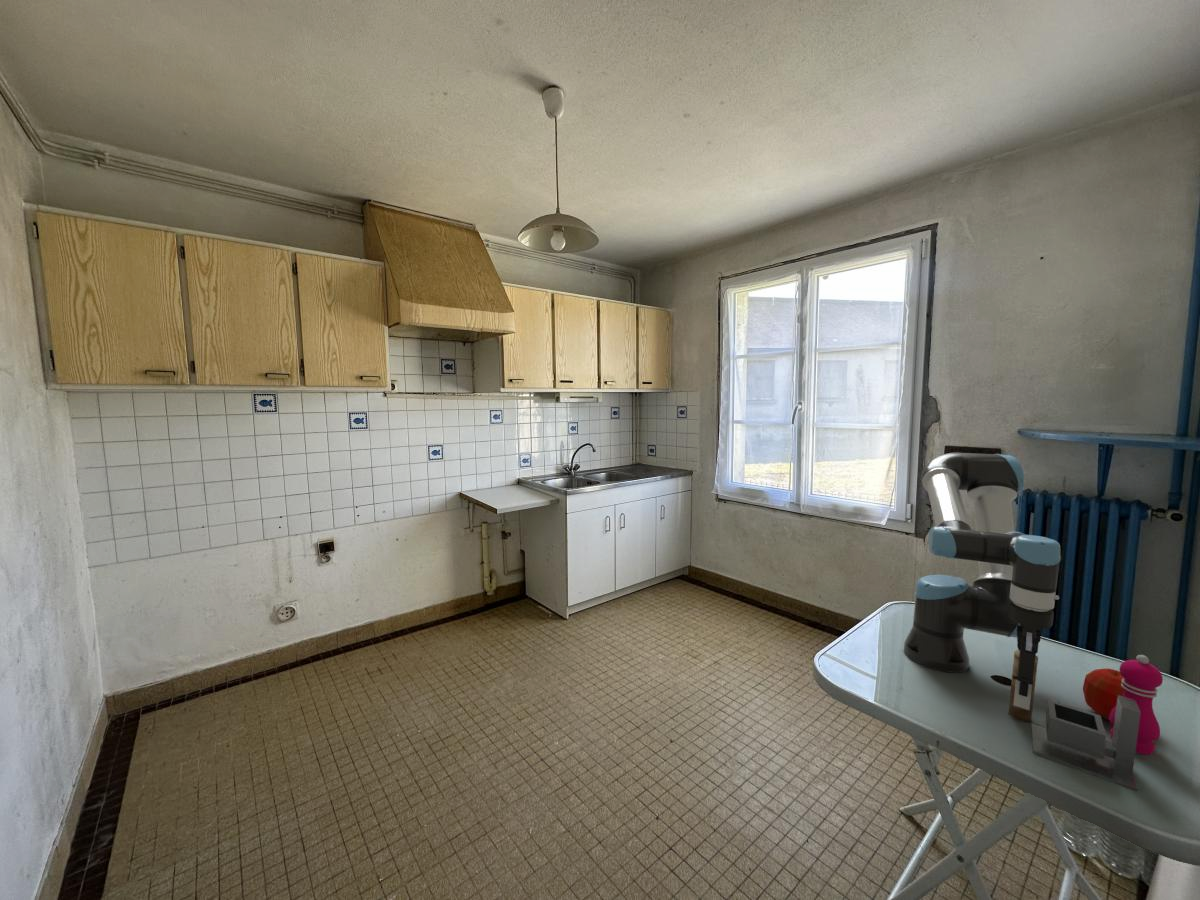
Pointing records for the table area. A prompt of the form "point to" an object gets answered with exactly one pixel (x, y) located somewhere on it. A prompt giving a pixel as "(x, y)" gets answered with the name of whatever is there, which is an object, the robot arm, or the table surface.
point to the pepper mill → (1141, 699)
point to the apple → (1103, 690)
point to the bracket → (1090, 740)
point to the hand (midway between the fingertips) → (1021, 701)
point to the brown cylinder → (1014, 711)
